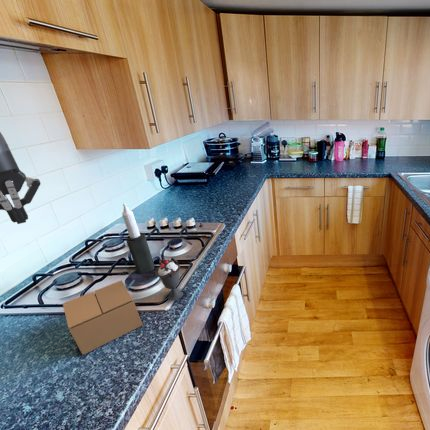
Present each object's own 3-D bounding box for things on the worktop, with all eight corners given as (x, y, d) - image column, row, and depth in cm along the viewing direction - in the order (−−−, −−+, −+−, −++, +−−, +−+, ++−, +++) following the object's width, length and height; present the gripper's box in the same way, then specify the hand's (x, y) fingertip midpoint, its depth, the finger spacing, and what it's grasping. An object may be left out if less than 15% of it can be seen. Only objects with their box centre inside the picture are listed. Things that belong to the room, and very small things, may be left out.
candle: (154, 270, 99) (133, 204, 88) (137, 275, 97) (113, 208, 86) (154, 263, 103) (133, 199, 92) (138, 267, 101) (115, 202, 90)
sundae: (166, 307, 83) (152, 265, 76) (161, 295, 88) (148, 253, 81) (190, 298, 86) (178, 256, 80) (184, 286, 91) (173, 246, 85)
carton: (83, 356, 68) (67, 327, 64) (76, 330, 76) (62, 303, 72) (143, 325, 77) (132, 299, 73) (131, 305, 84) (121, 279, 80)
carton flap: (68, 328, 65) (68, 327, 65) (63, 304, 72) (62, 303, 72) (102, 314, 69) (102, 312, 69) (93, 292, 76) (93, 291, 76)
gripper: (25, 143, 68) (55, 209, 75) (-61, 153, 60) (-18, 226, 67) (27, 148, 63) (59, 218, 71) (-67, 159, 55) (-20, 237, 62)
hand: (21, 222), depth 69 cm, fingers closed
